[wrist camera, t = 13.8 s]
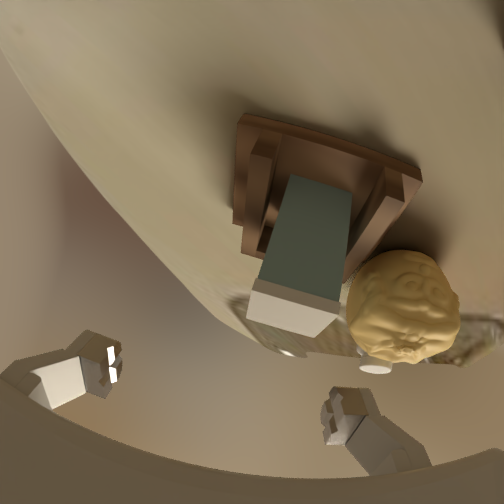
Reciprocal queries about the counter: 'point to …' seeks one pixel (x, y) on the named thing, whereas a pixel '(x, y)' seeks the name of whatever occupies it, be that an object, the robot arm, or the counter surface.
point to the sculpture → (402, 307)
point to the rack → (321, 170)
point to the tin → (304, 259)
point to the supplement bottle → (373, 363)
